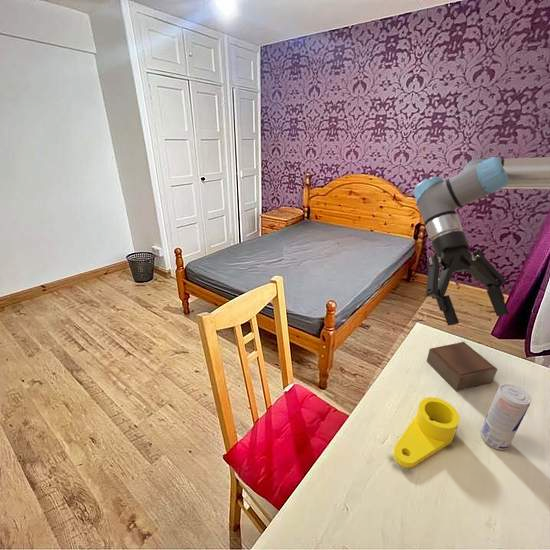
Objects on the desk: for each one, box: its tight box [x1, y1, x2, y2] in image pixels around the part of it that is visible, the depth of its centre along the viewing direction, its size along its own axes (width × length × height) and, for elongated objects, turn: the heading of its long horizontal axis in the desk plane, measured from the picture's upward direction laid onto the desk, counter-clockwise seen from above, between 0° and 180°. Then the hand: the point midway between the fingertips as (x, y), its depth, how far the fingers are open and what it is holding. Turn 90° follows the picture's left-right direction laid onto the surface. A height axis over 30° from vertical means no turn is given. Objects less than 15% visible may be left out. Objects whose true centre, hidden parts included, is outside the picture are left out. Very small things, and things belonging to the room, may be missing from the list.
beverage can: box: [479, 383, 532, 451], centre depth 67 cm, size 6×6×15 cm
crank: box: [392, 396, 460, 469], centre depth 69 cm, size 18×8×6 cm, turn 125°
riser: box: [426, 341, 498, 392], centre depth 88 cm, size 12×12×5 cm
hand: (478, 319), depth 70 cm, fingers open, 13 cm apart
